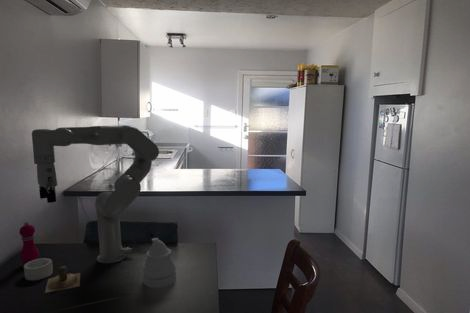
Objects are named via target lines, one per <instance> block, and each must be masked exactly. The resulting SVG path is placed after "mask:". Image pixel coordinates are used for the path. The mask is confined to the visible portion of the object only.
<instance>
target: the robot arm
mask: <svg viewBox="0 0 470 313" xmlns="http://www.w3.org/2000/svg"><path fill="white" fill-rule="evenodd" d="M31 143H32V153H33V164H35V165H36V176H37V184H38V185H39V186H38V188H39V198H40V199H41V200H42V199H46V202H47V203H48V204H50V203H51V204H52V203H56V202H57V195H56V193H57V192H56V187H57V186H58V180H57V173H56V167H55V163H56V158H55V147H68V146H71V145H79V144H80V145H85V144H86V145H92V146H106V145H107V146H110V145H127V146H128V147H129V148H131V149H132V150H133V151H134V160H133V162H132V164H131V165H130V166H129V167H128V168H127V169H126V170H125V171H124V172H123V173H122V174H121V175H120V176H119V177H118V178H117V179H116V180H115V182H114V183H113V185H114V186H113V187H114V191H102V192H100V193H99V194H98V195H97V196H96V198H95V202H94V205H95V206H94V207H95V211H96V212H95V213H96V218H97V219H96V220H97V232H98V243H99V255H98V256H97V257H96V261H97V262H98V263H100V264H113V263H119V262H121V261H123V260H124V259H125V258H126V256H127V255H126V254H127V253H128V254H129V253H133V248H132V247H128V246H127V247H123V245H122V235H121V221H120V220H121V219H120V215H121V214H122V213H123V212H124V211H126V209H128V207H129V206H130V205H131V204H132V203H133V202H134V201H135V200H136V199H137V198H138V196H139V195H140V194H141V190H142V185H141V182H142V181H143V180H144V179H145V178H146V177H147V175H148V174H149V173H150V171H151V168H152V162H153V161H154V160H156V159H157V158H158V157H159V153H160V150H159V147H158V145H157V144H155V142H153V140H151V139H150V138H149V137H147V136H146V135H145V134H144V133H143V132H142V131H141V130H139V128H137V127H135V126H134V125H93V126H92V125H91V126H74V127H57V128H55V129H49V128H40V129H39V128H38V129H33V130H32V132H31Z"/></svg>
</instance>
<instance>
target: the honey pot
mask: <svg viewBox="0 0 470 313" xmlns="http://www.w3.org/2000/svg"><path fill="white" fill-rule="evenodd" d="M151 242H152V245H151V247H150V249H149V250H148V251H147V252H146V253H145V257H146V259H145V263H144V265H143V269H142V272H143V274H142V275H143V277H142V278H143V284H144V285H145V286H146V287H148V288H151V289H159V288H165V287H169V286H170V285H172V284H174V283H175V282H176V280H177V270H176V263H175V262H174V260H173V256H172V250H171V249H170V248H168V247H167V245H166V244H165V243H164V242H163V241H162V240H160V239H159V237H154V238H151Z"/></svg>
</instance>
